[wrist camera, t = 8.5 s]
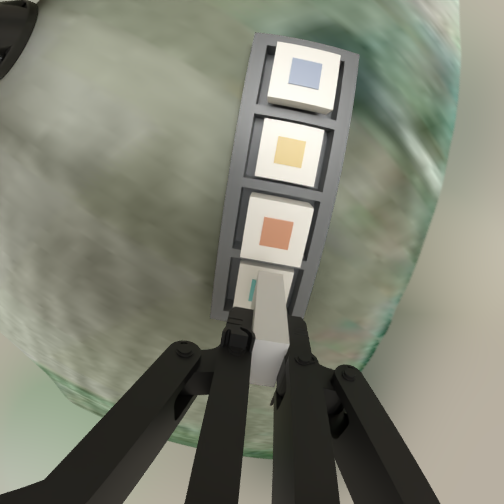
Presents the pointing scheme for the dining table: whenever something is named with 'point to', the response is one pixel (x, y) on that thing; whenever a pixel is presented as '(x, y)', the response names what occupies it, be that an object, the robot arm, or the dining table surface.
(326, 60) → the key slate
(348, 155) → the dining table surface
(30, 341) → the dining table surface
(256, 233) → the key rust
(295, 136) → the key ochre
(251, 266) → the key teal
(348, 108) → the keypad
